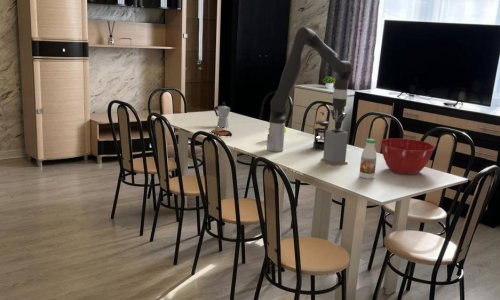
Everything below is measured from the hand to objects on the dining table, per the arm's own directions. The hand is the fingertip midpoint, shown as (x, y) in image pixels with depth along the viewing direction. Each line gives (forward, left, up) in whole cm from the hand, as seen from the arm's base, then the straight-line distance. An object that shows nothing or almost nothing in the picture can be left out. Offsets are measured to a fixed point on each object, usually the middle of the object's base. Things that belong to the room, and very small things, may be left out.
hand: (337, 128), depth 287 cm
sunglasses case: (-39, +83, -21) cm, 94 cm away
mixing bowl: (+29, -25, -20) cm, 43 cm away
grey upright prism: (0, 0, -20) cm, 20 cm away
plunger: (0, 0, -14) cm, 14 cm away
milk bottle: (+1, -30, -20) cm, 36 cm away
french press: (+11, +33, -20) cm, 40 cm away
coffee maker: (-29, +107, -20) cm, 113 cm away
